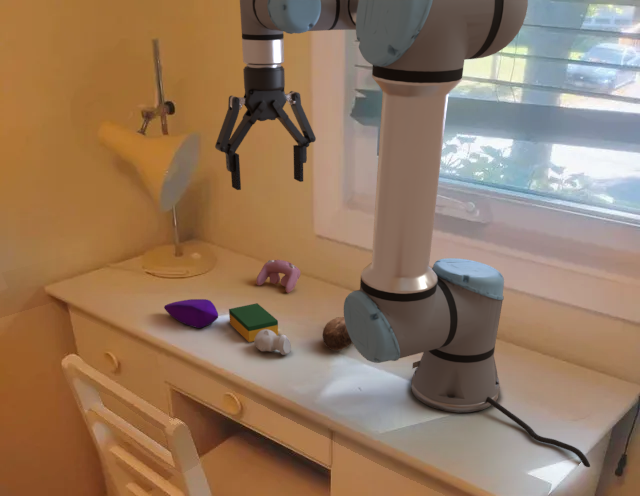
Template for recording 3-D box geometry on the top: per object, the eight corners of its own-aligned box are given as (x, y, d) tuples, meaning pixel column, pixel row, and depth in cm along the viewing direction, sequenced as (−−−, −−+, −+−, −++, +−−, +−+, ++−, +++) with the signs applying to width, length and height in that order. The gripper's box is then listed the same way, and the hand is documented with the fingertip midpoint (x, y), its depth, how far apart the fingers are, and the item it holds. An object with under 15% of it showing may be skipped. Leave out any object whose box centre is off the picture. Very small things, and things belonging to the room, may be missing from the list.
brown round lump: (368, 323, 142) (352, 303, 138) (366, 353, 138) (350, 334, 134) (334, 335, 146) (318, 316, 142) (331, 365, 142) (314, 346, 138)
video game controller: (298, 295, 167) (305, 265, 165) (288, 292, 162) (295, 262, 161) (263, 286, 171) (270, 257, 170) (253, 284, 167) (260, 254, 166)
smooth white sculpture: (251, 353, 141) (269, 338, 143) (278, 365, 136) (297, 350, 138) (245, 336, 138) (263, 321, 140) (272, 348, 133) (291, 333, 135)
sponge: (278, 335, 145) (277, 320, 143) (249, 342, 142) (248, 327, 140) (258, 317, 152) (257, 303, 150) (229, 323, 150) (228, 308, 148)
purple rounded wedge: (169, 292, 154) (223, 300, 146) (173, 314, 156) (227, 323, 149) (154, 300, 150) (208, 308, 143) (158, 321, 153) (212, 331, 145)
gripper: (314, 59, 138) (314, 173, 149) (191, 66, 128) (202, 187, 139) (333, 63, 132) (332, 180, 144) (206, 71, 122) (216, 196, 134)
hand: (268, 184), depth 142 cm, fingers open, 13 cm apart
